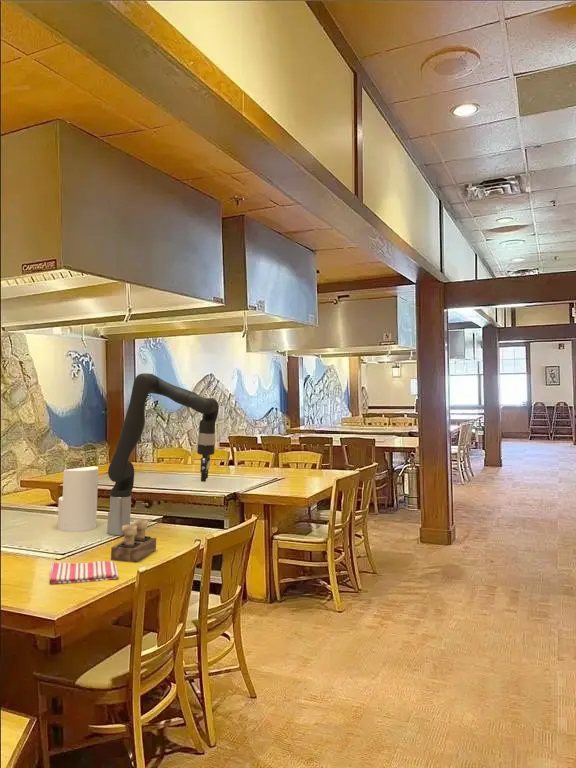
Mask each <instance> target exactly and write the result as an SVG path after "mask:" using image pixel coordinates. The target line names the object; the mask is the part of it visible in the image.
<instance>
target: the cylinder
mask: <svg viewBox="0 0 576 768" xmlns="http://www.w3.org/2000/svg"><path fill="white" fill-rule="evenodd" d="M62 479H63V480H62V482H63V483H62V496H60V497H58V509H57V510H58V511H57V529H58V530H59V531H61V532H69V533H70V532H71V533H76V532H77V533H78V532H79V533H81V532H87V531H92V530H94V529H96V528H97V520H98V519H97V518H98V517H97V512H98V488H99V487H98V486H99V467H98V466H95V465H93V466H84V467H75V468H69V469H64V470H63V477H62Z"/></svg>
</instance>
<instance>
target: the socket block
mask: <svg viewBox="0 0 576 768" xmlns="http://www.w3.org/2000/svg"><path fill="white" fill-rule="evenodd" d="M110 548H111V550H110V560H111V561H119V562H128V561H130V563H131V562H132V563H138V562H140V561H141V560H143V559H145V558H146V557H147V556H149V555H150V553H151V554H152V553H154V552H155V551H156V550H157V537H152V536H148V535H145V539H144V540H139V539H135V537H134V545H133V546H124V539H123V540H121V541H120V542H118V543H116V544H114V545H112V546H111V547H110ZM153 551H154V552H153ZM148 554H149V555H148ZM145 556H146V557H145ZM142 558H143V559H142ZM139 560H140V561H139Z"/></svg>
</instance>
